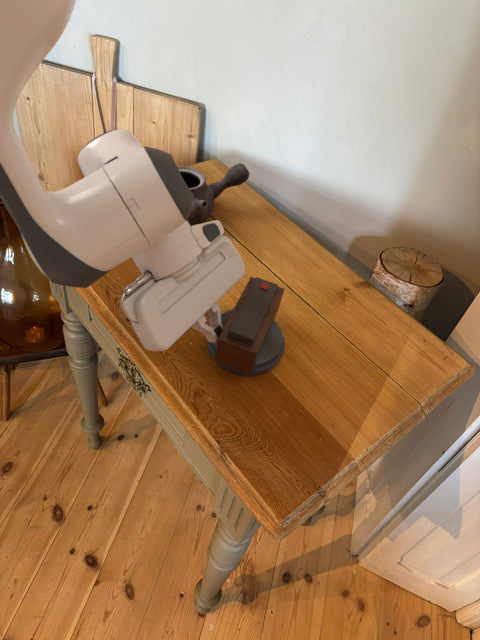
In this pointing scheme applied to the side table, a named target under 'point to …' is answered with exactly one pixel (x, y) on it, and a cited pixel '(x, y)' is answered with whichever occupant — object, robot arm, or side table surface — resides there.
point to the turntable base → (256, 370)
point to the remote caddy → (251, 328)
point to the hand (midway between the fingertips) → (218, 337)
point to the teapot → (209, 189)
